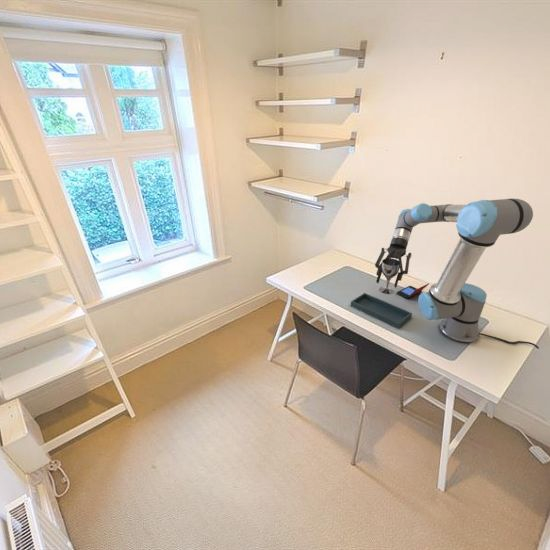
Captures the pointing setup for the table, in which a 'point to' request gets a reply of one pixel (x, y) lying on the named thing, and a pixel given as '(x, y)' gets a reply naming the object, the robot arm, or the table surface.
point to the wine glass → (389, 273)
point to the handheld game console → (410, 291)
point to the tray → (381, 310)
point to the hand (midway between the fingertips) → (386, 284)
